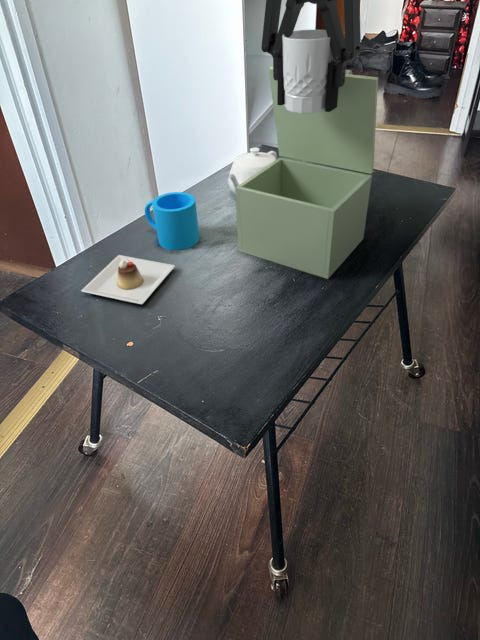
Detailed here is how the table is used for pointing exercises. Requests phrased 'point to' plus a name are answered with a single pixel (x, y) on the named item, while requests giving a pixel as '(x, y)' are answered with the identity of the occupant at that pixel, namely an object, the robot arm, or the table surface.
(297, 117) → the chest lid
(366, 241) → the table surface
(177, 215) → the mug
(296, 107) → the white cup
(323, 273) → the chest
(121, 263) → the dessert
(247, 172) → the teapot
